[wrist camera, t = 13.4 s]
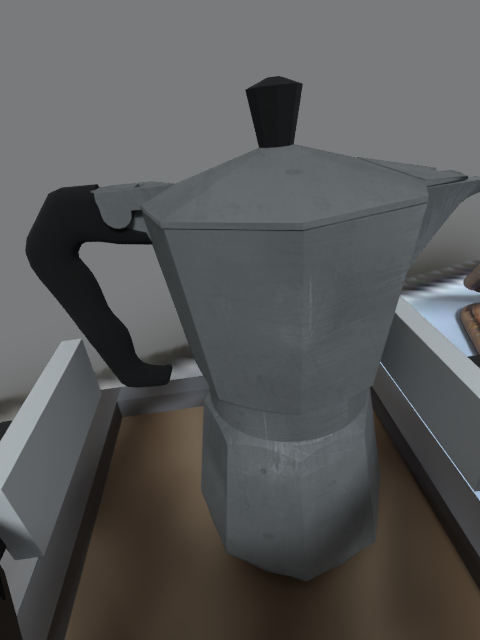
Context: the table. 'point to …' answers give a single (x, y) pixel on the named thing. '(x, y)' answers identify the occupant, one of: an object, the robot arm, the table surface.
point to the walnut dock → (233, 573)
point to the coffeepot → (267, 319)
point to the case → (472, 309)
